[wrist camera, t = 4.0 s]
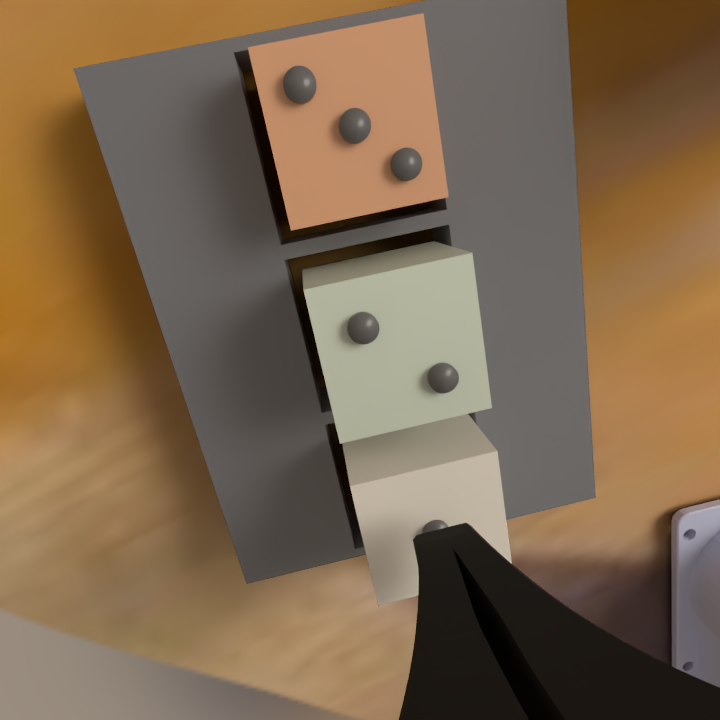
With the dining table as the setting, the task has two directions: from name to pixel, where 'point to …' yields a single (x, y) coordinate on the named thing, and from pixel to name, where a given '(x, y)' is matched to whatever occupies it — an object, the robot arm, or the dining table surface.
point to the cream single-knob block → (422, 495)
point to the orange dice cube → (352, 120)
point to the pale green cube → (399, 338)
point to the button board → (271, 253)
